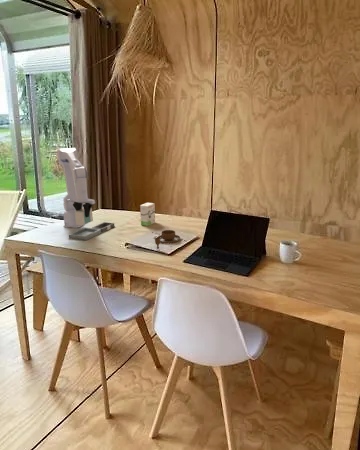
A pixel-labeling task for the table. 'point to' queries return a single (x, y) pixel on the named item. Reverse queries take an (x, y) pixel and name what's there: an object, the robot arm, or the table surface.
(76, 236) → the tray
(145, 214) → the ink box
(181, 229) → the table surface
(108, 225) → the frame
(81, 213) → the beige teal carton
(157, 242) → the place setting
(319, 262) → the table surface
